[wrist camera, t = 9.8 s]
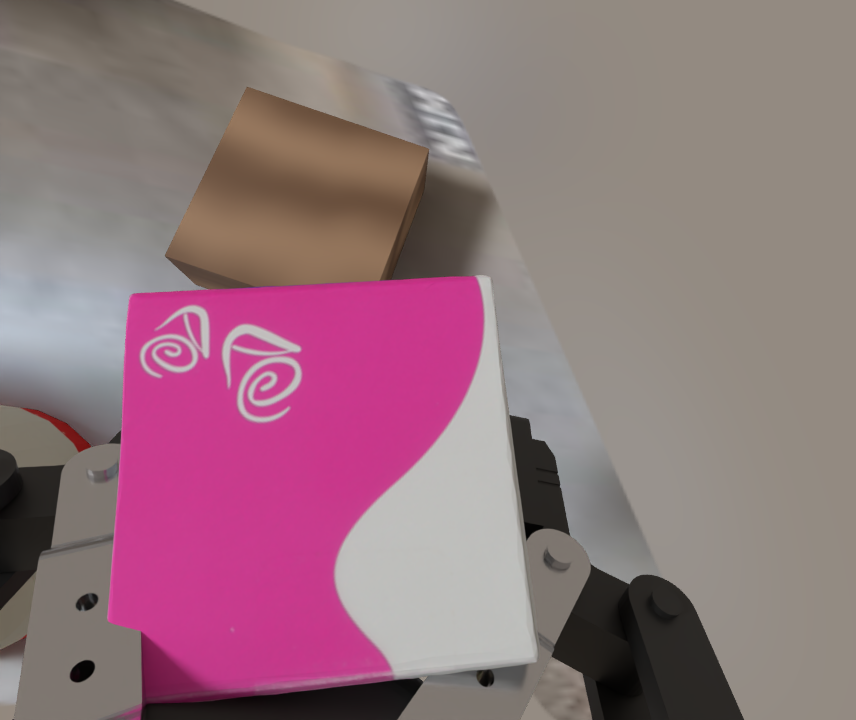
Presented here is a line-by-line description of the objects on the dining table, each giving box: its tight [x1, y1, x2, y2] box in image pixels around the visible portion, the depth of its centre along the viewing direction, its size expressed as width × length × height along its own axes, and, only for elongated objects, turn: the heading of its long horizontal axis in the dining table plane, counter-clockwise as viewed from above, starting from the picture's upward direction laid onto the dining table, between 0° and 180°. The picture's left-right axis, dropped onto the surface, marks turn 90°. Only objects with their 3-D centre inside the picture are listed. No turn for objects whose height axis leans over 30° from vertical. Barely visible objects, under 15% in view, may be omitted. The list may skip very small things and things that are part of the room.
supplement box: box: [107, 275, 540, 704], centre depth 12 cm, size 6×6×12 cm
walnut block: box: [165, 87, 429, 289], centre depth 32 cm, size 12×12×5 cm
